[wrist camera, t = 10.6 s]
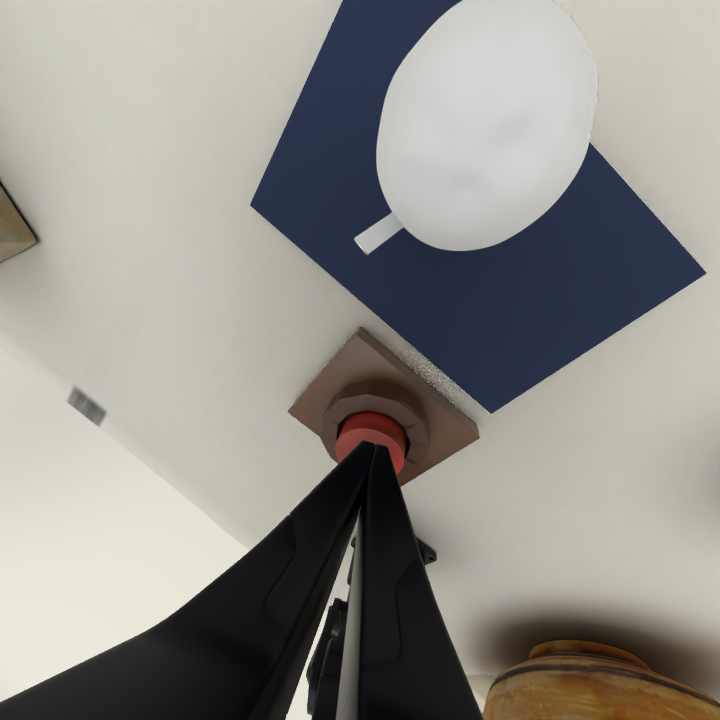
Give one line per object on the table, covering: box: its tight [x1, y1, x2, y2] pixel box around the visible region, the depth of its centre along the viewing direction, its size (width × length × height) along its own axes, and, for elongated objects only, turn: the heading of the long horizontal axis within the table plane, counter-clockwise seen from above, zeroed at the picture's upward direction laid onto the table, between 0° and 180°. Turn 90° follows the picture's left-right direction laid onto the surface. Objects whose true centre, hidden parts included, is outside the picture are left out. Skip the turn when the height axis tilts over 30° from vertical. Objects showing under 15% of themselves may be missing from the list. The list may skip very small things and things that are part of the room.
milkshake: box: [354, 0, 598, 255], centre depth 9 cm, size 4×5×10 cm
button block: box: [288, 327, 480, 487], centre depth 19 cm, size 11×9×3 cm
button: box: [335, 412, 406, 475], centre depth 18 cm, size 4×4×2 cm
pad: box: [250, 0, 706, 413], centre depth 14 cm, size 20×12×1 cm, turn 52°
